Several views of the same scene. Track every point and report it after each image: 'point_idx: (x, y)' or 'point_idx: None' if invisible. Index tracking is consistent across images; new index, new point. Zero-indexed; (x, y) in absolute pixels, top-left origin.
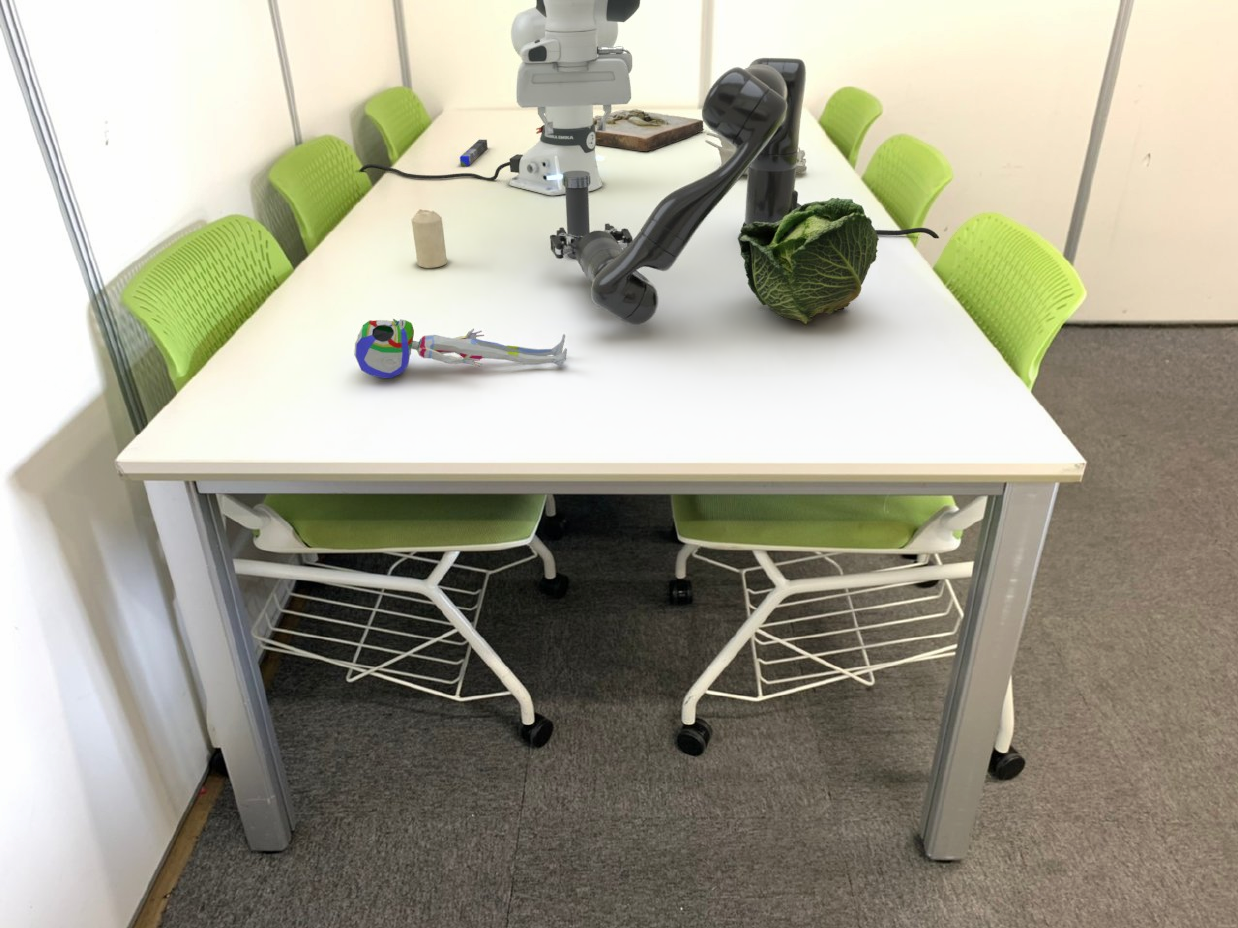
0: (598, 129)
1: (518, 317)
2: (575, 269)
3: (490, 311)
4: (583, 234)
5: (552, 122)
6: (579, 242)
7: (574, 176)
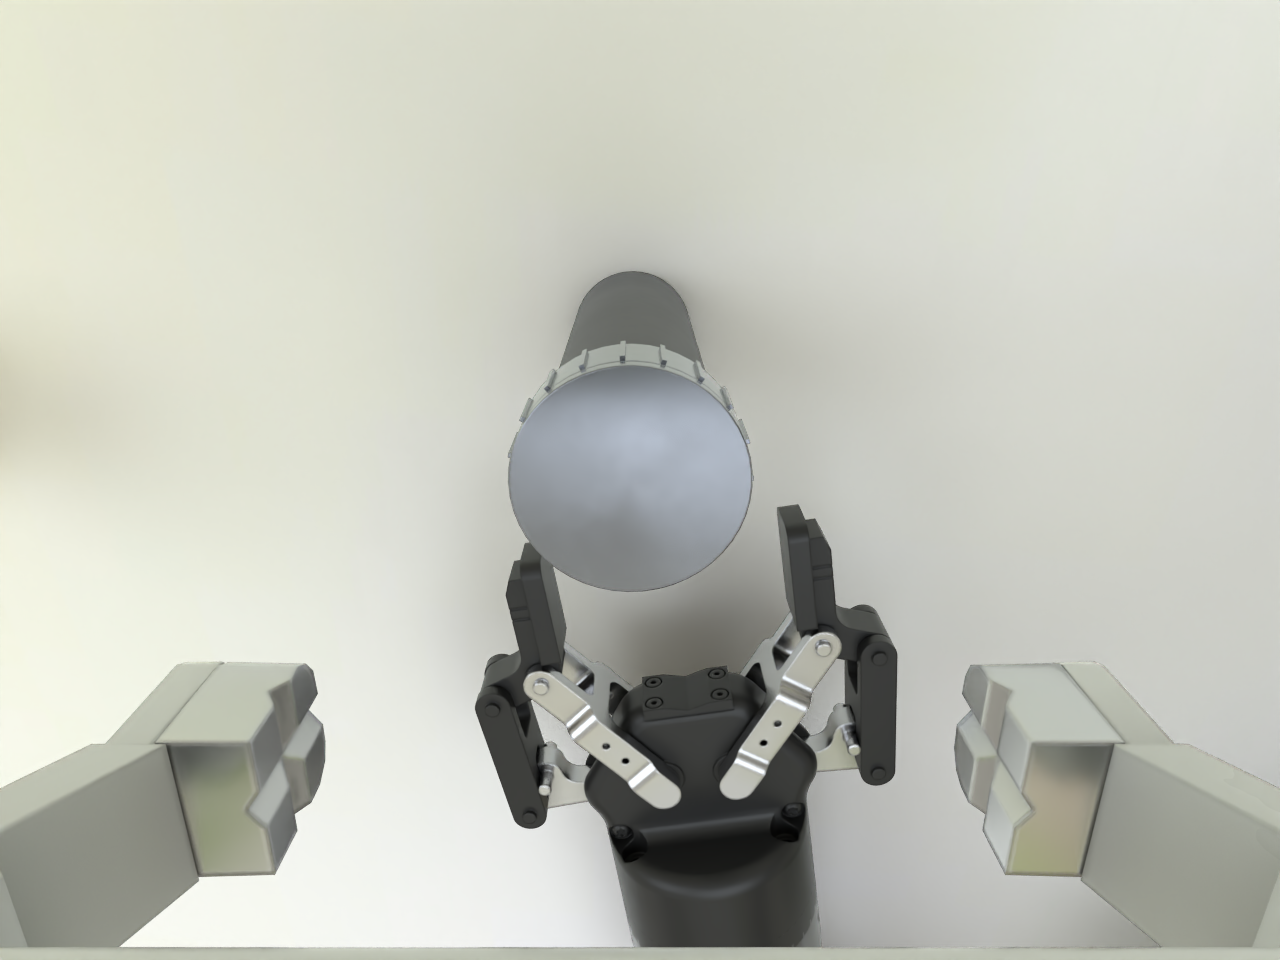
0: (976, 788)
1: (412, 910)
2: None
3: (308, 863)
4: None
5: (255, 793)
6: (625, 877)
7: (613, 560)
